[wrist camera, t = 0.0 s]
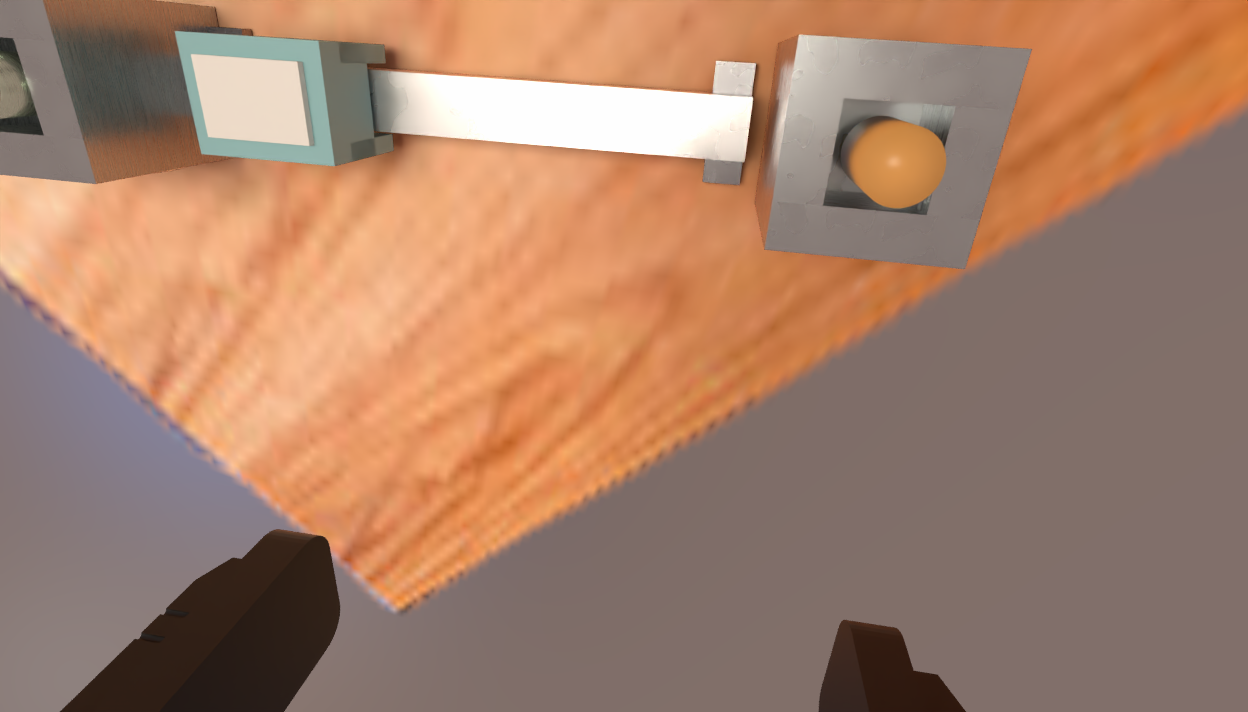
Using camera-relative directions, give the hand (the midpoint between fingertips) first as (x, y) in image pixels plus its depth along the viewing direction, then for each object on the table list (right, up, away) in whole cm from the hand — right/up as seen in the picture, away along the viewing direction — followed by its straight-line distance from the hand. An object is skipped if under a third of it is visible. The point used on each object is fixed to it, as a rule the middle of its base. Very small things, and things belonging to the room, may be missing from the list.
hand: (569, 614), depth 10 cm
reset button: (+11, +12, +16) cm, 23 cm away
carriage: (-15, +18, +25) cm, 35 cm away
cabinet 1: (-26, +20, +27) cm, 43 cm away
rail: (-7, +18, +25) cm, 32 cm away
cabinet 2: (+12, +16, +23) cm, 31 cm away
